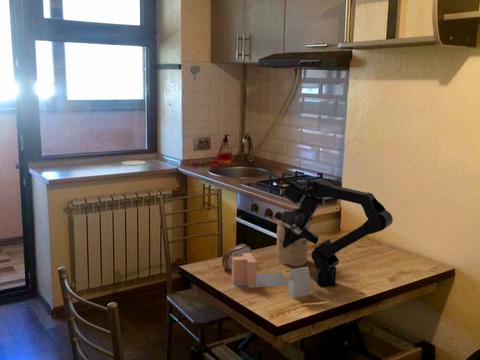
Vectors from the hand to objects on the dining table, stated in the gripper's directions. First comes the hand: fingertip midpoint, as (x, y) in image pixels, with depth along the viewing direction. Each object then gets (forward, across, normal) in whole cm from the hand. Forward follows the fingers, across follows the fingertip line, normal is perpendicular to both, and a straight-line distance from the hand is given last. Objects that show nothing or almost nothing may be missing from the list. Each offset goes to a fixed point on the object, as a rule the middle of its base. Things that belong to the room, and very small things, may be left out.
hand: (283, 247), depth 186 cm
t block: (+18, -3, -6) cm, 19 cm away
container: (+6, -8, +21) cm, 24 cm away
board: (+15, 0, -1) cm, 15 cm away
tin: (+17, -16, +3) cm, 24 cm away
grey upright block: (+11, +16, 0) cm, 19 cm away
